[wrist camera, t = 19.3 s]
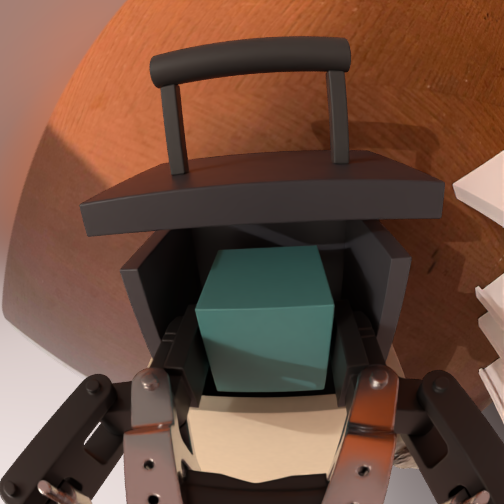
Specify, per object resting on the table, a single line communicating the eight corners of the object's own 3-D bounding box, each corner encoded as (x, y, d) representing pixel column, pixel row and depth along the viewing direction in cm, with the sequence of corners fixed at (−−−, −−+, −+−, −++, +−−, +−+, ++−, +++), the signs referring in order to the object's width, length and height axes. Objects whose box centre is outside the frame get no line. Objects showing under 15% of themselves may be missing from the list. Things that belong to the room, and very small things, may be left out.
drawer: (151, 82, 13) (60, 65, 6) (363, 65, 12) (437, 28, 5) (199, 345, 21) (174, 432, 14) (352, 341, 20) (374, 429, 13)
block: (230, 325, 15) (216, 391, 11) (217, 249, 13) (194, 309, 9) (314, 322, 14) (324, 389, 10) (317, 244, 12) (335, 304, 8)
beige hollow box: (182, 290, 20) (131, 401, 11) (364, 282, 19) (412, 396, 10) (216, 406, 26) (200, 489, 17) (340, 403, 25) (351, 487, 16)
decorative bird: (401, 445, 31) (410, 484, 24) (356, 415, 26) (365, 472, 19) (432, 429, 29) (444, 468, 22) (399, 393, 24) (416, 450, 18)
